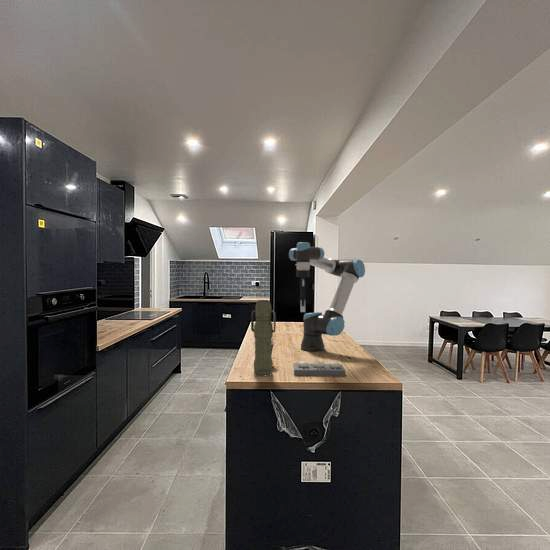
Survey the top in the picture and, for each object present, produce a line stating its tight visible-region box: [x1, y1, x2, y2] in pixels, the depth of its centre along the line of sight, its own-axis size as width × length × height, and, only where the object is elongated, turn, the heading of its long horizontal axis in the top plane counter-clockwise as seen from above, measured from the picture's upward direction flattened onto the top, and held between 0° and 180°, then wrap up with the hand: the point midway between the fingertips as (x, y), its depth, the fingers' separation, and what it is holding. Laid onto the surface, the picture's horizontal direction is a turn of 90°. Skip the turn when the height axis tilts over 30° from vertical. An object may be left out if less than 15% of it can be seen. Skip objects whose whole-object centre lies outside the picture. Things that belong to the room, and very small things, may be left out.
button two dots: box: [297, 360, 309, 368], centre depth 175 cm, size 5×5×4 cm
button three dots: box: [313, 360, 325, 368], centre depth 174 cm, size 5×5×4 cm
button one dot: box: [328, 361, 340, 368], centre depth 174 cm, size 5×5×4 cm
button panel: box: [293, 363, 346, 377], centre depth 174 cm, size 12×24×3 cm, turn 87°
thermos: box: [250, 299, 277, 376], centre depth 171 cm, size 9×12×35 cm
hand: (302, 311), depth 201 cm, fingers closed
